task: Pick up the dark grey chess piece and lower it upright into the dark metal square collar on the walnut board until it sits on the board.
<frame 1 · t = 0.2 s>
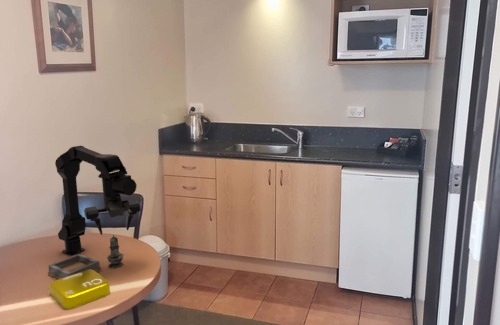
hand: (114, 232, 161), 14 cm above the table, tool pointing down, fingers open, 9 cm apart
element tile: (80, 295, 145), on the table
dark grey chess piece: (116, 265, 166), on the table
socket: (75, 272, 160), on the table
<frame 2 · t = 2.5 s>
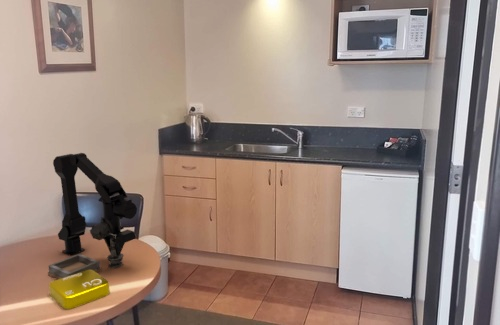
hand: (115, 253, 165), 5 cm above the table, tool pointing down, fingers closed on dark grey chess piece, 3 cm apart
dark grey chess piece: (116, 265, 166), on the table, touching gripper
everything else where it was.
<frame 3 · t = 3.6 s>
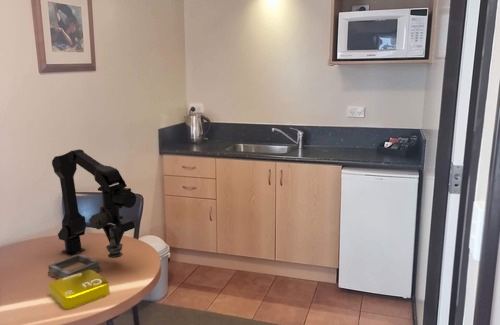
hand: (114, 243, 164), 9 cm above the table, tool pointing down, fingers closed on dark grey chess piece, 3 cm apart
dark grey chess piece: (115, 255, 165), point 4 cm above the table, touching gripper
everything else where it was.
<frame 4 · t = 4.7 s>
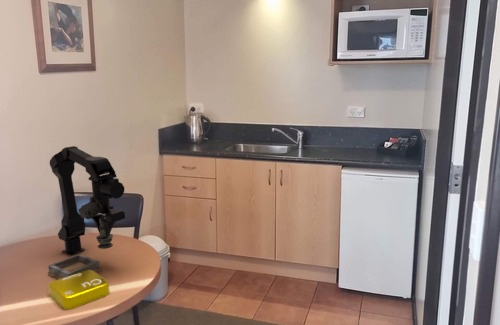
hand: (104, 234, 162), 13 cm above the table, tool pointing down, fingers closed on dark grey chess piece, 3 cm apart
dark grey chess piece: (105, 246, 163), point 8 cm above the table, touching gripper
everything else where it was.
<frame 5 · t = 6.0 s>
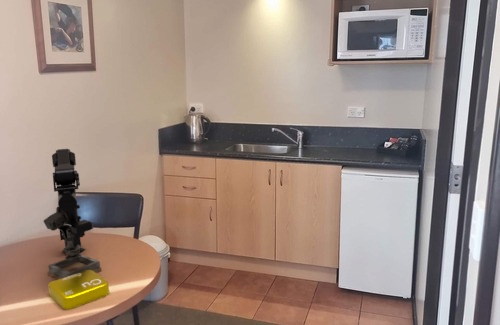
hand: (72, 245, 158), 11 cm above the table, tool pointing down, fingers closed on dark grey chess piece, 3 cm apart
dark grey chess piece: (73, 257, 159), point 6 cm above the table, touching gripper
everything else where it was.
when the fingers open (8 cm above the table, at t = 7.1 s): dark grey chess piece drops 2 cm, resting on socket.
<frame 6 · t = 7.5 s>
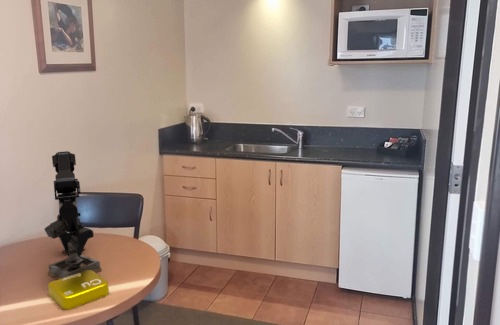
hand: (73, 253, 158), 8 cm above the table, tool pointing down, fingers open, 7 cm apart
dark grey chess piece: (74, 270, 160), point 1 cm above the table, touching socket
everything else where it was.
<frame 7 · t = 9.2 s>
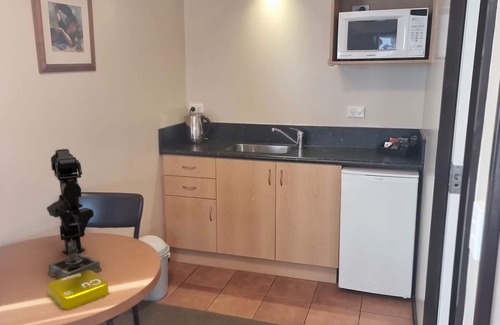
hand: (74, 232, 164), 13 cm above the table, tool pointing down, fingers open, 9 cm apart
nothing on the table moved.
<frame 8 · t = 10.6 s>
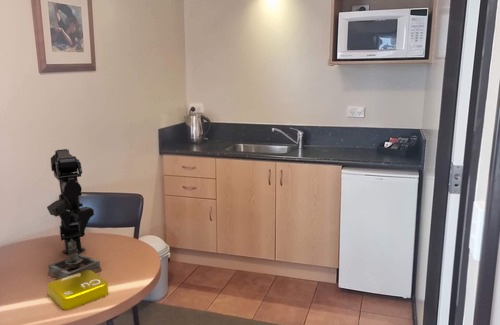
hand: (74, 231, 164), 13 cm above the table, tool pointing down, fingers open, 9 cm apart
nothing on the table moved.
at the end: dark grey chess piece 0.1 cm off-centre on the socket, point 1.0 cm above the socket's base; dark grey chess piece tilted 0°; the gripper is holding nothing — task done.
